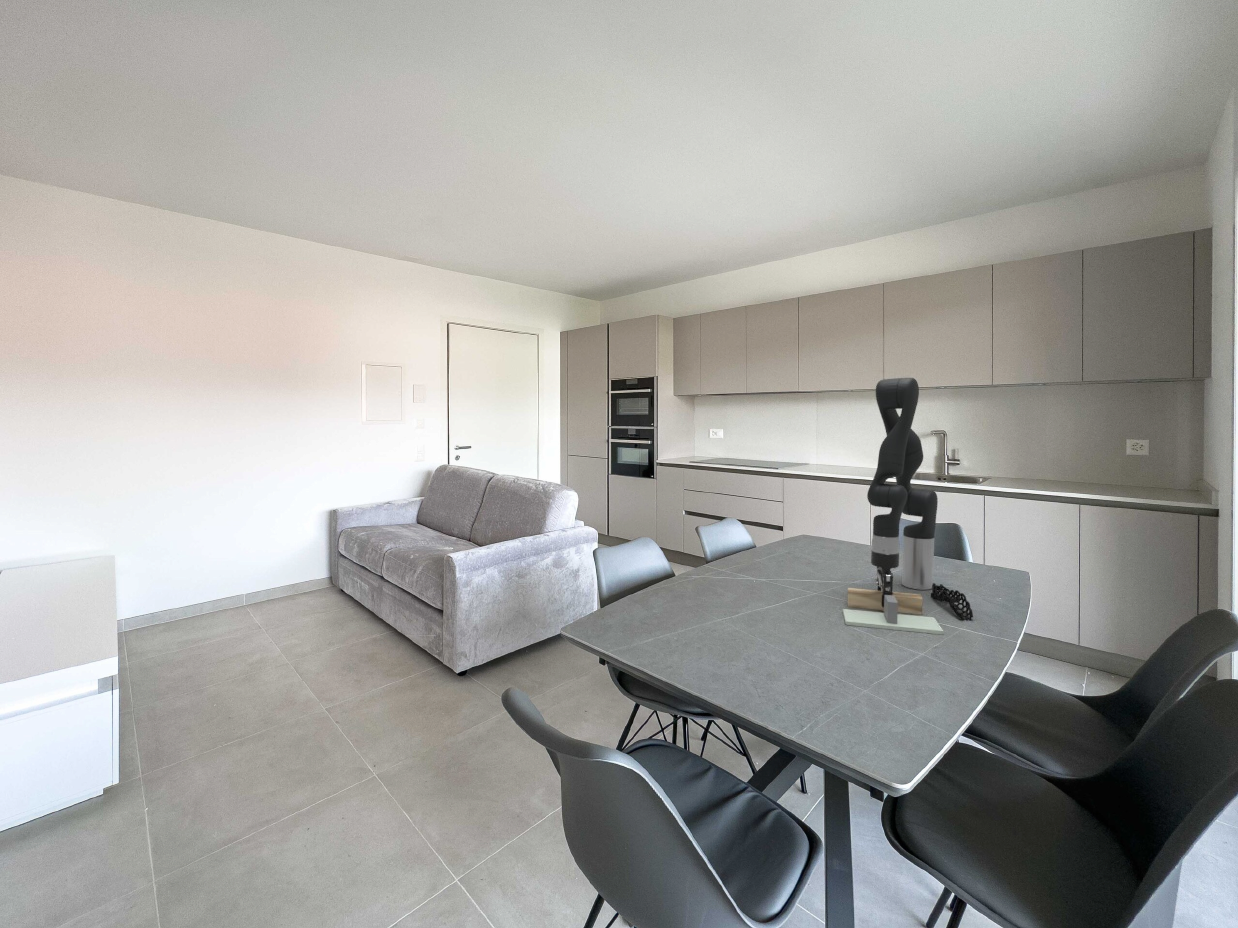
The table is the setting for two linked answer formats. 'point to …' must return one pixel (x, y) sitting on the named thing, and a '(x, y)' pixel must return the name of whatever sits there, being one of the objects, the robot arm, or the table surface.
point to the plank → (874, 600)
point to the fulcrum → (892, 619)
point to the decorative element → (952, 600)
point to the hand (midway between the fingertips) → (883, 602)
